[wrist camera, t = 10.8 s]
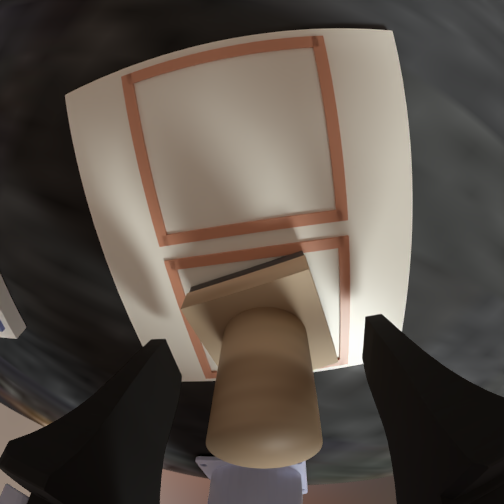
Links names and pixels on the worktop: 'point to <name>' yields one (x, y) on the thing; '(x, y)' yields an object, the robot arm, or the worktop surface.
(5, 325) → the ink pad
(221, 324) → the stamp
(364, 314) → the card sheet
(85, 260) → the worktop surface
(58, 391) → the worktop surface
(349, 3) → the worktop surface
